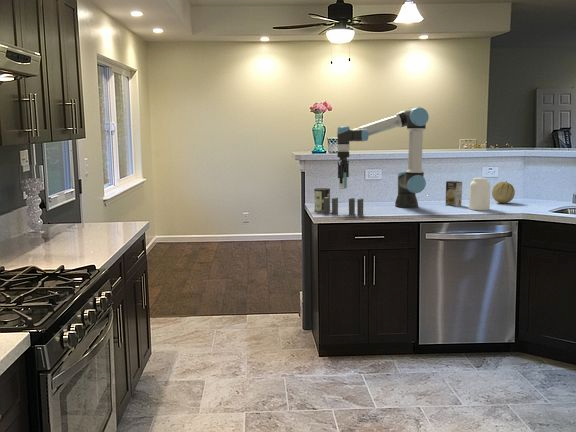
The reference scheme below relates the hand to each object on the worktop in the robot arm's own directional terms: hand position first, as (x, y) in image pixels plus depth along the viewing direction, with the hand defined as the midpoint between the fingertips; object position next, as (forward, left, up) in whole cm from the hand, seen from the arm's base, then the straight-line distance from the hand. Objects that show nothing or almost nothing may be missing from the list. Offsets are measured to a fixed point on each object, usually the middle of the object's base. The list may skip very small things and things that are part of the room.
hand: (343, 188), depth 387 cm
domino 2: (+1, +12, -15) cm, 19 cm away
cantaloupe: (-88, -75, -15) cm, 116 cm away
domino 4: (-16, +12, -15) cm, 25 cm away
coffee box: (-59, -53, -15) cm, 80 cm away
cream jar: (-78, -38, -15) cm, 88 cm away
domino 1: (+6, +12, -15) cm, 21 cm away
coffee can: (+14, 0, -15) cm, 21 cm away
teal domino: (0, 0, 0) cm, 0 cm away
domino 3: (-10, +12, -15) cm, 22 cm away
